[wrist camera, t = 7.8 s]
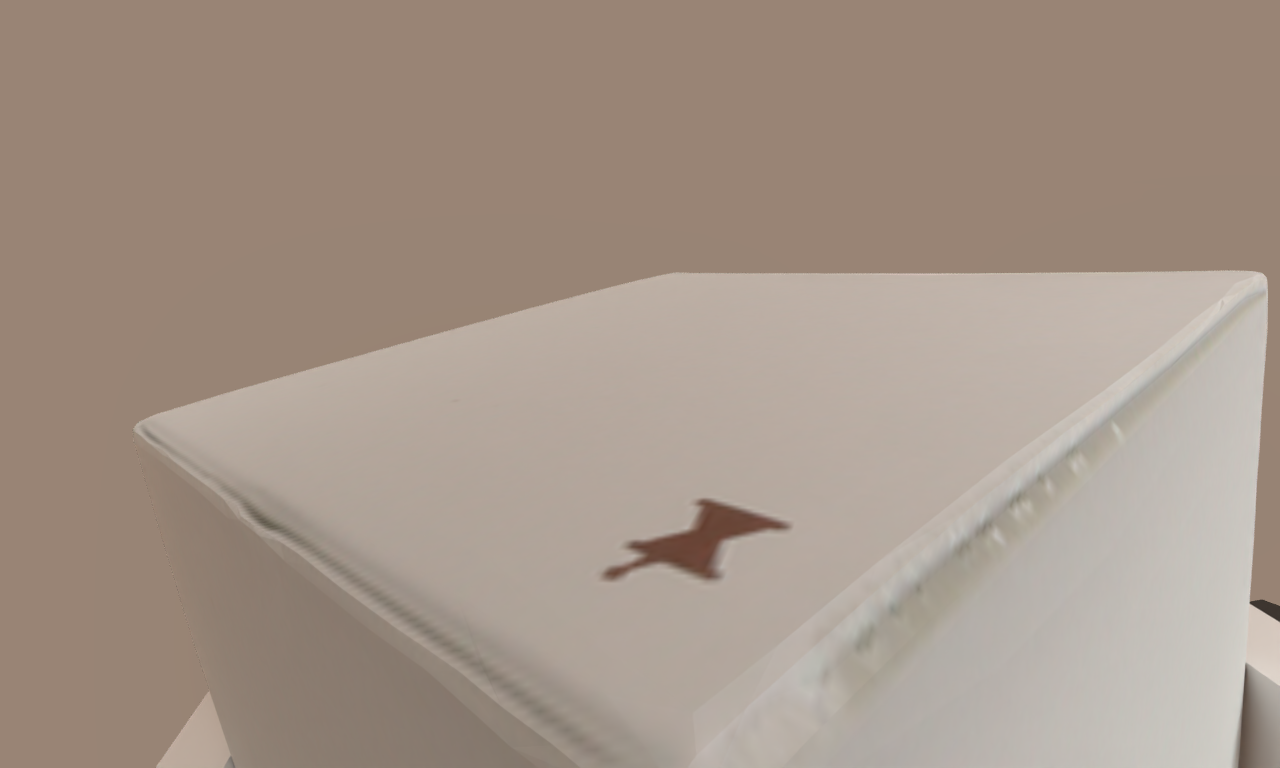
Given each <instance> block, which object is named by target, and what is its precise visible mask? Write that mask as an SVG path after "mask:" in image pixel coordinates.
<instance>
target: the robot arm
mask: <svg viewBox="0 0 1280 768" xmlns="http://www.w3.org/2000/svg"><path fill="white" fill-rule="evenodd" d="M156 768H235V766H234V763H233V760H232V757H231V754H230V751H229V748H228V745H227V742H226V739H225V736H224V733H223V730H222V727H221V724H220V721H219V718H218V715H217V712H216V709H215V706H214V703H213V700H212V697H211V694H210V691H208V693H207V694H206V696H205V697H204V698H203V700H202V701H201V703H200V704H199V706H198V707H197V709H196V710H195V711H194V713H193V714H192V716H191V717H190V719H189V720H188V722H187V723H186V724H185V726H184V727H183V729H182V731H181V732H180V733H179V735H178V736H177V738H176V739H175V740H174V742H173V743H172V745H171V746H170V748H169V749H168V751H167V752H166V753H165V755H164V756H163V758H162V759H161V761H160V762H159V763H158V765H157V766H156ZM1239 768H1280V606H1278V605H1276V604H1272V603H1270V602H1267V601H1265V600H1257V601H1251V602H1249V623H1248V636H1247V650H1246V664H1245V677H1244V693H1243V710H1242V727H1241V742H1240V755H1239Z"/></svg>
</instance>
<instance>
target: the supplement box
mask: <svg viewBox="0 0 1280 768" xmlns="http://www.w3.org/2000/svg"><path fill="white" fill-rule="evenodd" d="M1267 300H1268V287H1267V278H1266V277H1265V276H1264V275H1263V274H1262V273H1259V272H1252V271H1180V272H1097V273H1096V272H1093V273H992V274H991V273H987V274H986V273H985V274H803V273H797V274H796V273H795V274H794V273H793V274H791V273H790V274H789V273H786V274H785V273H783V274H782V273H781V274H780V273H778V274H777V273H776V274H775V273H774V274H773V273H770V274H769V273H767V274H764V273H762V274H761V273H760V274H759V273H754V274H753V273H748V274H747V273H745V274H742V273H734V274H733V273H670V274H665V275H660V276H655V277H651V278H647V279H642V280H638V281H634V282H630V283H626V284H622V285H618V286H614V287H610V288H606V289H602V290H598V291H594V292H590V293H586V294H583V295H579V296H575V297H571V298H568V299H564V300H560V301H556V302H552V303H549V304H545V305H541V306H537V307H533V308H529V309H526V310H522V311H519V312H515V313H511V314H508V315H504V316H500V317H497V318H493V319H490V320H486V321H482V322H479V323H475V324H471V325H468V326H464V327H461V328H457V329H453V330H450V331H446V332H442V333H439V334H435V335H431V336H428V337H424V338H420V339H417V340H413V341H410V342H406V343H402V344H399V345H396V346H392V347H388V348H385V349H381V350H378V351H374V352H370V353H367V354H363V355H360V356H356V357H353V358H349V359H345V360H342V361H338V362H335V363H331V364H328V365H324V366H321V367H317V368H313V369H310V370H307V371H303V372H299V373H295V374H292V375H288V376H285V377H281V378H278V379H274V380H271V381H267V382H263V383H260V384H256V385H253V386H249V387H246V388H242V389H239V390H236V391H232V392H229V393H226V394H222V395H219V396H215V397H212V398H209V399H205V400H202V401H199V402H196V403H192V404H189V405H186V406H182V407H179V408H176V409H172V410H169V411H166V412H162V413H159V414H156V415H153V416H151V417H149V418H147V419H145V420H142V421H140V422H138V423H137V425H136V426H135V427H134V429H133V438H134V444H135V448H136V451H137V455H138V458H139V461H140V465H141V468H142V472H143V475H144V479H145V482H146V486H147V489H148V492H149V496H150V499H151V503H152V506H153V510H154V513H155V517H156V520H157V523H158V527H159V530H160V533H161V537H162V540H163V543H164V547H165V550H166V553H167V557H168V560H169V563H170V567H171V570H172V573H173V576H174V580H175V583H176V587H177V590H178V593H179V596H180V600H181V603H182V606H183V610H184V613H185V616H186V620H187V623H188V626H189V630H190V633H191V636H192V639H193V643H194V646H195V649H196V652H197V655H198V658H199V661H200V664H201V667H202V670H203V673H204V676H205V679H206V682H207V685H208V688H209V691H210V694H211V697H212V700H213V703H214V706H215V709H216V712H217V715H218V718H219V721H220V724H221V727H222V730H223V733H224V736H225V739H226V742H227V745H228V748H229V751H230V754H231V757H232V760H233V763H234V766H235V768H1239V755H1240V742H1241V727H1242V710H1243V693H1244V677H1245V664H1246V650H1247V636H1248V623H1249V601H1250V588H1251V587H1250V586H1251V574H1252V559H1253V544H1254V527H1255V511H1256V486H1257V473H1258V459H1259V447H1260V429H1261V412H1262V396H1263V382H1264V366H1265V353H1266V341H1267V307H1268V306H1267V304H1268V303H1267V302H1268V301H1267Z"/></svg>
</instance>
